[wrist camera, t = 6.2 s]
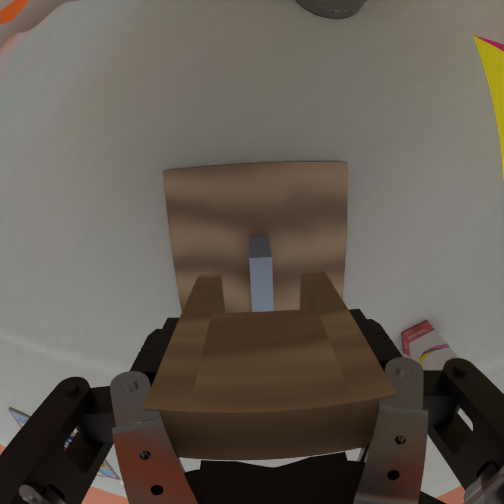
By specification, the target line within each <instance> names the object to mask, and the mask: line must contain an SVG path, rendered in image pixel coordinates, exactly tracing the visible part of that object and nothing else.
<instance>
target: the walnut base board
mask: <svg viewBox="0 0 504 504" xmlns="http://www.w3.org/2000/svg"><path fill="white" fill-rule="evenodd" d="M163 173H164V185H165V195H166V205H167V214H168V223H169V231H170V239H171V246H172V254H173V261H174V267H175V274H176V280H177V286H178V292H179V298H180V304H181V310H182V311H183V309H184V307H185V304H186V302H187V300H188V298H189V295H190V293H191V291H192V288H193V286H194V284H195V282H196V279H197V277H198V275H215V274H222V285H223V295H224V305H225V313H240V312H252V297H251V281H250V263H249V248H250V237H256V236H268V238H269V243H270V249H271V254H272V269H273V309H274V311H283V310H299V309H300V271H302V270H320V269H323V270H324V271H325V273H326V274H327V276H328V278H329V279H330V281H331V282H332V284H333V286H334V287H335V289H336V290H337V292H338V294H339V295H340V297H341V299H342V296H343V284H344V271H345V254H346V232H347V162H268V163H247V164H230V165H216V166H204V167H193V168H183V169H174V170H166V171H163Z"/></svg>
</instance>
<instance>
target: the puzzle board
mask: <svg viewBox="0 0 504 504" xmlns="http://www.w3.org/2000/svg"><path fill="white" fill-rule="evenodd" d="M9 411H10V412H11V414H12V415H13V417H14V418H15V419H16V421H17V422H18V424H19V425H20V426H21V428H22V427H23V426H24V424H25V423H26V422H27V421H28V419H29V418H30V417H31V416H29V415H26V414H24V413H22V412H20V411H17V410H15V409H13V408H11V407H10V408H9ZM75 435H76V433H73V432H72V434H71V435H70V437H69V438H68V440H67V441H66V443H65V450H66V448H67V447H68V445H69V444H70V442H71V441H72V439H73V438H74V436H75ZM97 475H98V476H101V477H105V476H107V477H110V478H114V479H118V480H120V478H119V477H118V476H117V474H116V473H115V472H114V470H113V469H112V468H111V466H110V465H109V464H108V462H107V461H106V460H104V462H103V464H102V465H101V467H100V469H99V471H98V473H97Z"/></svg>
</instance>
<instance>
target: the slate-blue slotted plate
mask: <svg viewBox="0 0 504 504" xmlns="http://www.w3.org/2000/svg"><path fill="white" fill-rule="evenodd" d="M249 263H250V281H251V297H252V312H264V311H274V309H273V269H272V254H271V249H270V243H269V238H268V236H256V237H250V248H249Z"/></svg>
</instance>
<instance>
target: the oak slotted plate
mask: <svg viewBox="0 0 504 504" xmlns="http://www.w3.org/2000/svg"><path fill="white" fill-rule="evenodd" d="M393 395H396V393H395V391H394V389H393V387H392V385H391V383H390V382H389V380H388V378H387V376H386V374H385V372H384V371H383V369H382V367H381V365H380V363H379V362H378V360H377V358H376V356H375V355H374V353H373V351H372V349H371V348H370V346H369V344H368V342H367V341H366V339H365V337H364V335H363V334H362V332H361V330H360V329H359V327H358V325H357V324H356V322H355V320H354V318H353V317H352V315H351V313H350V312H349V310H348V308H347V307H346V305H345V304H344V302H343V300H342V299H341V297H340V295H339V294H338V292H337V290H336V289H335V287H334V286H333V284H332V282H331V281H330V279H329V278H328V276H327V274H326V273H325V271H324V270H323V269H320V270H302V271H300V309H299V310H283V311H264V312H240V313H225V305H224V295H223V285H222V274H215V275H198V277H197V279H196V282H195V284H194V286H193V288H192V291H191V293H190V295H189V298H188V300H187V302H186V304H185V307H184V309H183V311H182V314H181V316H180V318H179V321H178V323H177V325H176V328H175V330H174V333H173V335H172V337H171V340H170V342H169V345H168V347H167V349H166V352H165V354H164V357H163V359H162V362H161V364H160V367H159V369H158V372H157V374H156V377H155V379H154V382H153V384H152V387H151V389H150V392H149V395H148V397H147V400H146V402H145V405H144V409H150V410H159V412H160V415H161V417H162V420H163V422H164V425H165V428H166V430H167V433H168V435H169V438H170V440H171V442H172V444H173V447H174V449H175V451H176V452H177V454H178V457H182V458H194V459H210V460H268V459H284V458H295V457H305V456H313V455H321V454H328V453H334V452H340V451H346V450H351V449H356V448H361V447H362V445H363V443H364V440H366V439H367V437H368V434H369V432H370V429H371V426H372V423H373V420H374V416H375V412H376V408H377V405H378V403H379V399H380V398H384V397H389V396H393Z"/></svg>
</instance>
